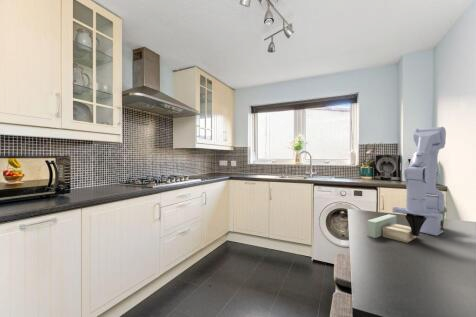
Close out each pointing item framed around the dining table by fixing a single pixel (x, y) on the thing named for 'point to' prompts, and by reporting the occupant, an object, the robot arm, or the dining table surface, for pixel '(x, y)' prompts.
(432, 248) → the dining table surface
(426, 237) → the dining table surface
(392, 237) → the maple block
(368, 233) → the sage board
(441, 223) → the food container
